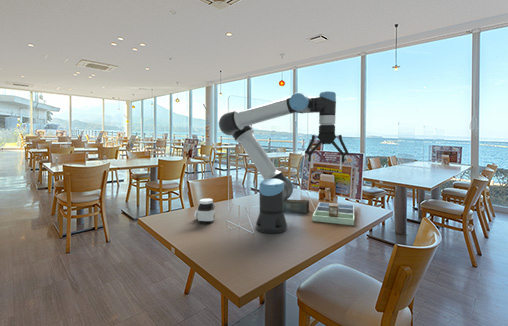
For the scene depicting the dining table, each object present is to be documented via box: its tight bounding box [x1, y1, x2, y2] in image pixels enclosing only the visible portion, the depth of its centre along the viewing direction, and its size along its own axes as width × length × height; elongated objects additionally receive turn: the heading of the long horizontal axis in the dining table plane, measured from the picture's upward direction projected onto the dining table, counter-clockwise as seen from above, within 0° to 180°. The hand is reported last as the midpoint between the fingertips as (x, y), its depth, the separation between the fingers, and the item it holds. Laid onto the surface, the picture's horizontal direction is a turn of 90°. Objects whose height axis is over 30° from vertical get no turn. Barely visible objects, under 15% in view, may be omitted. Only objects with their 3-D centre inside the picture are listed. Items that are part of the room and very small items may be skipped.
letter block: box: [329, 203, 340, 218], centre depth 142 cm, size 4×5×8 cm
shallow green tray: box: [314, 205, 355, 215], centre depth 152 cm, size 21×9×3 cm, turn 70°
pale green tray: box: [312, 210, 355, 226], centre depth 143 cm, size 21×9×3 cm, turn 70°
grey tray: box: [317, 201, 355, 210], centre depth 161 cm, size 21×9×3 cm, turn 70°
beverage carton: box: [284, 198, 310, 214], centre depth 162 cm, size 8×19×7 cm, turn 72°
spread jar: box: [193, 197, 216, 224], centre depth 142 cm, size 12×11×12 cm
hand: (325, 168), depth 131 cm, fingers open, 13 cm apart
